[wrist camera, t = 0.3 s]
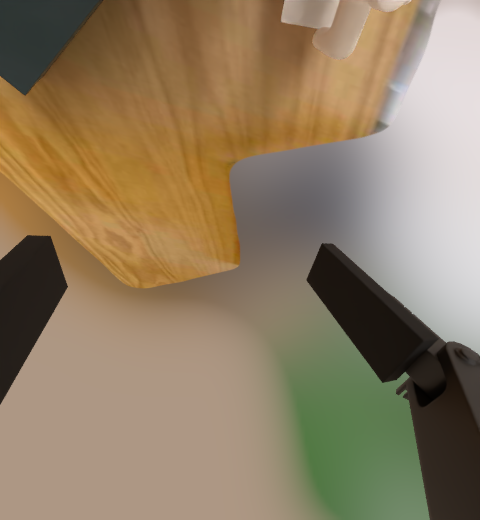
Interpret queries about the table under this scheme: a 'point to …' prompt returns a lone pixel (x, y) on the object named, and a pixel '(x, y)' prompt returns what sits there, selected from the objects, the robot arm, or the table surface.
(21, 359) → the robot arm
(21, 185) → the table surface
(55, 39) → the pencil box
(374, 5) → the figurine
